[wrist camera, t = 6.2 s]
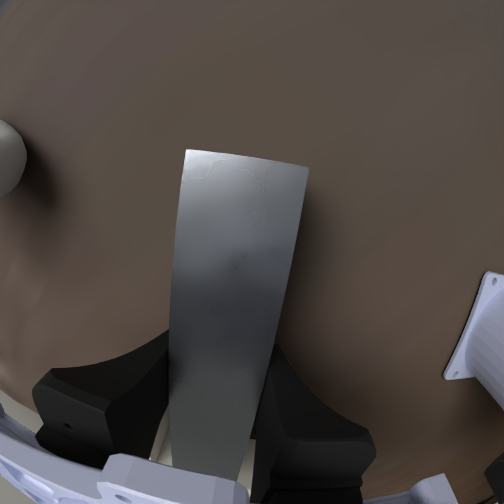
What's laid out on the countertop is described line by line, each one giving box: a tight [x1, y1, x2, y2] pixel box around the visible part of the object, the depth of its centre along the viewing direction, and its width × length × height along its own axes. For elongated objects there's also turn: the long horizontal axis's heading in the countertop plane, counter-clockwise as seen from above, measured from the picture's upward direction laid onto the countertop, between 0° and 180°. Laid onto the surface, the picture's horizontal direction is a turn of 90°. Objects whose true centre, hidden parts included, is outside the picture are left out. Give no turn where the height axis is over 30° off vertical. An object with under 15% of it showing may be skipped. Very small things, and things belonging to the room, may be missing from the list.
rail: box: [168, 149, 309, 482], centre depth 12 cm, size 4×16×5 cm, turn 171°
